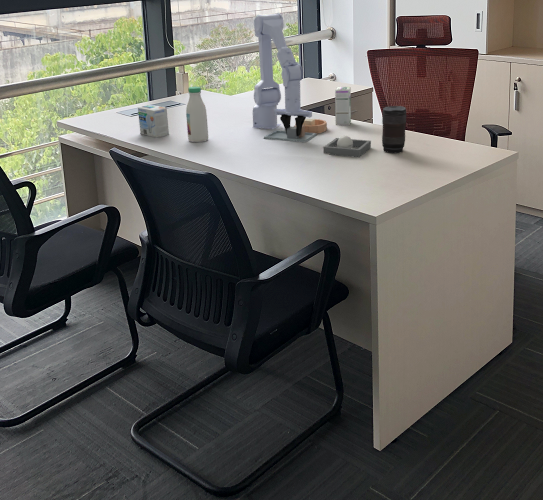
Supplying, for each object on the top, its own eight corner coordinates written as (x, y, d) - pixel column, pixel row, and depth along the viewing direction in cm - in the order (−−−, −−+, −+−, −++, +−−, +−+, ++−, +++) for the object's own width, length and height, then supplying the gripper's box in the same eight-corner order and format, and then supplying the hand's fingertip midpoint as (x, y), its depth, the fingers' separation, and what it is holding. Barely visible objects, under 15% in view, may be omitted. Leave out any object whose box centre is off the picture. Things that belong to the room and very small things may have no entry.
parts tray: (263, 139, 256) (263, 136, 255) (275, 133, 265) (275, 130, 264) (305, 143, 249) (305, 140, 248) (316, 136, 258) (316, 133, 258)
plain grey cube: (287, 139, 254) (286, 128, 252) (290, 136, 257) (290, 126, 255) (295, 139, 252) (295, 129, 251) (299, 137, 255) (299, 127, 254)
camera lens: (378, 148, 239) (380, 106, 233) (401, 147, 240) (403, 105, 234) (384, 154, 232) (385, 111, 226) (407, 153, 232) (409, 109, 226)
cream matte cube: (303, 130, 263) (303, 120, 262) (307, 128, 266) (306, 118, 265) (311, 131, 262) (311, 121, 260) (315, 129, 265) (315, 119, 263)
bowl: (290, 133, 263) (290, 124, 262) (302, 126, 273) (302, 118, 272) (319, 135, 258) (319, 127, 257) (330, 128, 268) (330, 120, 267)
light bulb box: (139, 134, 271) (136, 107, 267) (153, 130, 276) (150, 104, 271) (156, 137, 264) (153, 110, 260) (169, 134, 269) (167, 107, 264)
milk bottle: (211, 138, 261) (208, 85, 253) (203, 143, 254) (199, 89, 246) (193, 137, 263) (189, 85, 255) (185, 142, 257) (180, 89, 248)
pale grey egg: (342, 154, 234) (342, 138, 232) (333, 151, 238) (333, 135, 236) (361, 151, 237) (361, 135, 235) (351, 147, 242) (352, 132, 239)
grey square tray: (323, 154, 235) (323, 146, 234) (336, 144, 246) (336, 137, 245) (359, 157, 230) (359, 150, 229) (370, 147, 240) (370, 140, 239)
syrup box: (349, 125, 272) (350, 89, 266) (334, 125, 273) (335, 89, 267) (350, 122, 277) (351, 86, 271) (336, 122, 278) (336, 86, 272)
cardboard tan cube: (293, 137, 256) (293, 126, 255) (296, 134, 259) (295, 124, 258) (302, 137, 255) (302, 127, 253) (304, 135, 258) (304, 124, 256)
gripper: (270, 99, 248) (271, 136, 254) (306, 101, 243) (307, 139, 248) (278, 96, 254) (279, 131, 260) (314, 98, 248) (314, 134, 254)
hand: (293, 135), depth 254 cm, fingers closed on plain grey cube, 3 cm apart
